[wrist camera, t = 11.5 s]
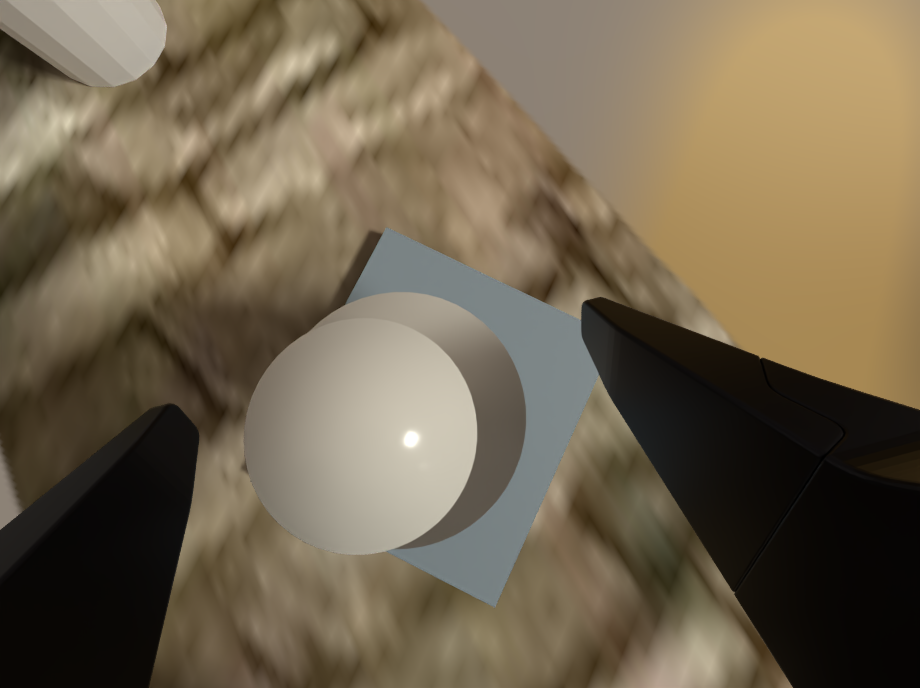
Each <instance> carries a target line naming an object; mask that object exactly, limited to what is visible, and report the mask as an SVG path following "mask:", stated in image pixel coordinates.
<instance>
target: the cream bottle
mask: <svg viewBox="0 0 920 688" xmlns="http://www.w3.org/2000/svg"><path fill="white" fill-rule="evenodd" d="M525 431H526V405H525V398H524V391H523V388H522V384H521V381H520V377H519V374H518V372H517V369H516V367H515V365H514V362H513V360H512V358H511V357H510V355H509V353H508V352H507V350H506V348H505V347H504V345H503V344H502V343H501V341H500V340H499V339H498V337H497V336H496V335H495V334H494V333H493V332H492V331H491V330H490V329H489V328H488V327H487V326H486V325H485V324H484V323H483V322H482V321H481V320H479V319H478V318H477V317H475V316H474V315H473V314H472V313H470V312H468V311H467V310H465V309H463V308H461V307H460V306H458V305H456V304H454V303H451V302H449V301H447V300H444V299H442V298H438V297H434V296H431V295H427V294H420V293H413V292H391V293H383V294H376V295H372V296H368V297H364V298H361V299H359V300H356V301H354V302H351V303H349V304H346V305H345V306H343V307H341V308H339V309H337V310H335V311H334V312H332V313H331V314H329V315H328V316H327V317H325V318H324V319H322V320H321V321H320V322H319V323H318V324H316V325H315V326H314V327H313V328H312V329H311V330H310V331H309V332H308V333H307V334H305V335H303V336H301V337H300V338H298V339H297V340H296V341H294V342H293V343H291V344H290V345H289V346H288V347H286V348H285V349H284V350H283V351H282V352H281V353H280V354H279V355H278V356H277V357H276V358H275V359H274V361H273V362H272V363H271V364H270V365H269V367H268V368H267V369H266V371H265V373H264V374H263V376H262V377H261V379H260V380H259V382H258V384H257V386H256V389H255V391H254V393H253V395H252V398H251V401H250V404H249V407H248V410H247V415H246V421H245V428H244V452H245V460H246V465H247V470H248V473H249V476H250V479H251V482H252V485H253V487H254V489H255V491H256V493H257V495H258V497H259V499H260V501H261V502H262V504H263V505H264V507H265V508H266V509H267V511H268V512H269V514H270V515H271V516H272V517H273V518H274V519H275V520H276V521H277V522H278V523H279V524H280V525H281V526H282V527H283V528H285V529H286V530H287V531H288V532H289V533H291V534H292V535H294V536H295V537H297V538H298V539H300V540H302V541H303V542H305V543H307V544H310V545H312V546H314V547H317V548H319V549H323V550H326V551H330V552H333V553H340V554H348V555H367V554H373V553H380V552H384V551H388V550H391V549H410V548H417V547H424V546H427V545H431V544H434V543H438V542H441V541H443V540H445V539H447V538H450V537H452V536H454V535H456V534H458V533H460V532H461V531H463V530H464V529H466V528H468V527H469V526H471V525H472V524H473V523H475V522H476V521H477V520H478V519H480V518H481V517H482V516H483V515H484V514H485V513H486V512H487V511H488V510H489V509H490V508H491V507H492V506H493V505H494V504H495V503H496V502H497V500H498V499H499V497H500V496H501V495H502V493H503V492H504V490H505V489H506V488H507V486H508V484H509V482H510V480H511V478H512V476H513V475H514V473H515V470H516V467H517V465H518V462H519V460H520V457H521V453H522V449H523V444H524V440H525Z"/></svg>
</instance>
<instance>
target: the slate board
mask: <svg viewBox="0 0 920 688" xmlns="http://www.w3.org/2000/svg"><path fill="white" fill-rule="evenodd" d="M391 292H413V293H420V294H427V295H431V296H434V297H438V298H442V299H444V300H447V301H449V302H451V303H454V304H456V305H458V306H460V307H461V308H463V309H465V310H467V311H468V312H470V313H472V314H473V315H474V316H475V317H477V318H478V319H479V320H481V321H482V322H483V323H484V324H485V325H486V326H487V327H488V328H489V329H490V330H491V331H492V332H493V333H494V334H495V335H496V336H497V337H498V339H499V340H500V341H501V343H502V344H503V345H504V347H505V348H506V350H507V352H508V353H509V355H510V357H511V358H512V360H513V362H514V365H515V367H516V369H517V372H518V374H519V377H520V381H521V384H522V388H523V391H524V398H525V405H526V431H525V440H524V444H523V449H522V453H521V457H520V460H519V462H518V465H517V467H516V470H515V473H514V475H513V476H512V478H511V480H510V482H509V484H508V486H507V488H506V489H505V490H504V492H503V493H502V495H501V496H500V497H499V499H498V500H497V502H496V503H495V504H494V505H493V506H492V507H491V508H490V509H489V510H488V511H487V512H486V513H485V514H484V515H483V516H482V517H481V518H480V519H478V520H477V521H476V522H475V523H473V524H472V525H471V526H469V527H468V528H466V529H464V530H463V531H461V532H460V533H458V534H456V535H454V536H452V537H450V538H447V539H445V540H443V541H441V542H438V543H434V544H431V545H427V546H424V547H417V548H410V549H391V550H388V551H386V552H388V553H390V554H392V555H394V556H396V557H398V558H400V559H402V560H404V561H406V562H408V563H410V564H411V565H413V566H415V567H417V568H419V569H421V570H423V571H425V572H427V573H429V574H431V575H433V576H435V577H437V578H439V579H441V580H442V581H444V582H446V583H448V584H450V585H452V586H454V587H456V588H458V589H460V590H462V591H464V592H466V593H468V594H470V595H472V596H473V597H475V598H477V599H479V600H481V601H483V602H485V603H487V604H489V605H491V606H493V607H495V606H496V604H497V602H498V599H499V597H500V595H501V593H502V590H503V588H504V586H505V584H506V582H507V579H508V577H509V575H510V573H511V570H512V568H513V566H514V564H515V561H516V559H517V557H518V555H519V552H520V550H521V548H522V546H523V543H524V541H525V539H526V537H527V534H528V532H529V530H530V528H531V526H532V523H533V521H534V519H535V517H536V514H537V512H538V510H539V508H540V505H541V503H542V501H543V499H544V496H545V494H546V492H547V490H548V487H549V485H550V483H551V481H552V479H553V476H554V474H555V472H556V470H557V467H558V465H559V463H560V461H561V458H562V456H563V454H564V452H565V449H566V447H567V445H568V443H569V440H570V438H571V436H572V434H573V432H574V429H575V427H576V425H577V423H578V420H579V418H580V416H581V414H582V411H583V409H584V407H585V405H586V402H587V400H588V398H589V396H590V393H591V391H592V389H593V387H594V384H595V382H596V380H597V378H598V376H599V373H598V371H597V369H596V367H595V365H594V363H593V361H592V358H591V356H590V354H589V352H588V350H587V348H586V346H585V344H584V341H583V339H582V335H581V320H579V319H577V318H575V317H573V316H571V315H569V314H567V313H565V312H563V311H560V310H558V309H556V308H554V307H552V306H550V305H548V304H546V303H544V302H542V301H540V300H537V299H535V298H533V297H531V296H529V295H527V294H525V293H523V292H521V291H519V290H517V289H514V288H512V287H510V286H508V285H506V284H504V283H502V282H500V281H498V280H496V279H494V278H491V277H489V276H487V275H485V274H483V273H481V272H479V271H477V270H475V269H473V268H471V267H468V266H466V265H464V264H462V263H460V262H458V261H456V260H454V259H452V258H450V257H448V256H446V255H443V254H441V253H439V252H437V251H435V250H433V249H431V248H429V247H427V246H425V245H423V244H420V243H418V242H416V241H414V240H412V239H410V238H408V237H406V236H404V235H402V234H400V233H397V232H395V231H393V230H391V229H389V228H387V227H386V229H385V231H384V233H383V235H382V237H381V238H380V240H379V242H378V244H377V246H376V248H375V250H374V252H373V253H372V255H371V257H370V259H369V261H368V263H367V265H366V266H365V268H364V270H363V272H362V274H361V276H360V278H359V280H358V281H357V283H356V285H355V287H354V289H353V291H352V293H351V294H350V296H349V298H348V300H347V302H346V304H349V303H351V302H354V301H356V300H359V299H361V298H364V297H368V296H372V295H376V294H383V293H391ZM346 304H345V305H346Z"/></svg>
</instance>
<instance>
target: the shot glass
mask: <svg viewBox="0 0 920 688" xmlns="http://www.w3.org/2000/svg"><path fill="white" fill-rule="evenodd" d="M0 29H1V30H3V31H4V32H5V33H7V34H8V35H10V36H11V37H13V38H14V39H15V40H17V41H18V42H20V43H21V44H23V45H24V46H25V47H27V48H28V49H30V50H31V51H33V52H34V53H35V54H37V55H38V56H40V57H41V58H43V59H44V60H45V61H47V62H48V63H50V64H51V65H53V66H54V67H55V68H57V69H58V70H60V71H61V72H62V73H64V74H65V75H67V76H68V77H70V78H71V79H74V80H76V81H78V82H81V83H83V84H86V85H88V86H90V87H116V86H119V85H122V84H125V83H128V82H131V81H134V80H136V79H138V78H139V77H140V76H141V75H143V74H144V73H145V72H146V71H147V70H149V69H150V68H151V67H152V66H154V64H155V63H156V61H157V59H158V57H159V56H160V54H161V52H162V50H163V49H164V47H165V40H166V30H167V25H166V22H165V19H164V16H163V14H162V11H161V8H160V6H159V5H158V3H157V2H156V0H0Z"/></svg>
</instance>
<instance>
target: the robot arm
mask: <svg viewBox="0 0 920 688" xmlns="http://www.w3.org/2000/svg"><path fill="white" fill-rule="evenodd" d="M581 335H582V339H583V341H584V344H585V346H586V348H587V350H588V352H589V354H590V356H591V358H592V361H593V363H594V365H595V367H596V369H597V371H598V373H599V375H600V378H601V380H602V382H603V384H604V386H605V388H606V390H607V392H608V394H609V396H610V397H611V399H612V401H613V403H614V404H615V406H616V407H617V409H618V411H619V412H620V414H621V415H622V417H623V418H624V420H625V422H626V423H627V425H628V426H629V428H630V430H631V431H632V433H633V434H634V436H635V437H636V439H637V441H638V442H639V444H640V445H641V447H642V449H643V450H644V452H645V453H646V455H647V456H648V458H649V460H650V461H651V463H652V464H653V466H654V468H655V469H656V471H657V472H658V474H659V476H660V477H661V479H662V480H663V482H664V483H665V485H666V487H667V488H668V490H669V491H670V493H671V495H672V496H673V498H674V499H675V501H676V502H677V504H678V506H679V507H680V509H681V510H682V512H683V514H684V515H685V517H686V518H687V520H688V521H689V523H690V525H691V526H692V528H693V529H694V531H695V533H696V534H697V536H698V537H699V539H700V541H701V542H702V544H703V545H704V547H705V548H706V550H707V552H708V553H709V555H710V556H711V558H712V560H713V561H714V563H715V564H716V566H717V567H718V569H719V571H720V572H721V574H722V575H723V577H724V579H725V580H726V582H727V583H728V585H729V586H730V588H731V590H732V591H733V592H735V593H734V595H735V596H736V598H737V600H738V601H739V603H740V604H741V606H742V608H743V609H744V611H745V612H746V614H747V616H748V617H749V619H750V620H751V622H752V623H753V625H754V627H755V628H756V630H757V631H758V633H759V635H760V636H761V638H762V639H763V641H764V642H765V644H766V646H767V647H768V649H769V650H770V652H771V654H772V655H773V657H774V658H775V660H776V662H777V663H778V665H779V666H780V668H781V669H782V671H783V673H784V674H785V676H786V677H787V679H788V681H789V682H790V684H791V685H792V687H793V688H920V410H918V409H915V408H912V407H909V406H906V405H902V404H899V403H896V402H893V401H890V400H886V399H883V398H880V397H877V396H873V395H870V394H867V393H864V392H861V391H857V390H854V389H851V388H848V387H845V386H842V385H839V384H836V383H833V382H829V381H827V380H823V379H820V378H817V377H815V376H812V375H809V374H806V373H803V372H801V371H798V370H795V369H792V368H789V367H787V366H784V365H781V364H778V363H776V362H773V361H771V360H768V359H765V358H761V359H760V358H759V356H757V355H754V354H752V353H749V352H747V351H744V350H741V349H739V348H736V347H733V346H731V345H728V344H725V343H723V342H720V341H717V340H715V339H712V338H709V337H707V336H704V335H701V334H699V333H696V332H693V331H691V330H688V329H685V328H683V327H680V326H678V325H675V324H672V323H670V322H667V321H664V320H662V319H659V318H656V317H654V316H651V315H648V314H646V313H643V312H640V311H638V310H635V309H632V308H630V307H627V306H624V305H622V304H619V303H616V302H614V301H611V300H609V299H606V298H603V297H598V298H594V299H590V300H586V301H584V302H583V304H582V312H581ZM198 445H199V432H198V429H197V427H196V426H195V425H194V424H193V423H192V421H191V420H190V419H189V418H188V417H187V416H186V415H185V414H184V412H183V411H182V410H181V409H180V408H179V407H178V406H177V405H175V404H165V405H161V406H157V407H153V408H151V409H149V410H148V411H147V412H145V413H144V414H143V415H142V416H140V417H139V418H138V419H137V420H136V421H134V422H133V423H132V424H131V425H129V426H128V427H127V428H126V429H124V430H123V431H122V432H121V433H119V434H118V435H117V436H116V437H115V438H113V439H112V440H111V441H110V442H108V443H107V444H106V445H105V446H103V447H102V448H101V449H100V450H98V451H97V452H96V453H95V454H94V455H92V456H91V457H90V458H89V459H87V460H86V461H85V462H84V463H82V464H81V465H80V466H79V467H77V468H76V469H75V470H74V471H73V472H71V473H70V474H69V475H68V476H66V477H65V478H64V479H63V480H61V481H60V482H59V483H58V484H56V485H55V486H54V487H53V488H52V489H50V490H49V491H48V492H47V493H45V494H44V495H43V496H42V497H40V498H39V499H38V500H37V501H35V502H34V503H33V504H32V505H31V506H29V507H28V508H27V509H26V510H24V511H23V512H22V513H21V514H19V515H18V516H17V517H16V518H14V519H13V520H12V521H11V522H10V523H8V524H7V525H6V526H5V527H3V528H2V529H1V530H0V688H149V685H150V680H151V676H152V672H153V667H154V663H155V659H156V655H157V650H158V646H159V642H160V637H161V633H162V629H163V624H164V620H165V616H166V612H167V607H168V603H169V599H170V594H171V590H172V586H173V581H174V577H175V573H176V569H177V564H178V560H179V556H180V551H181V547H182V543H183V538H184V534H185V530H186V526H187V521H188V517H189V512H190V508H191V503H192V496H193V488H194V480H195V471H196V462H197V454H198Z"/></svg>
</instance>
